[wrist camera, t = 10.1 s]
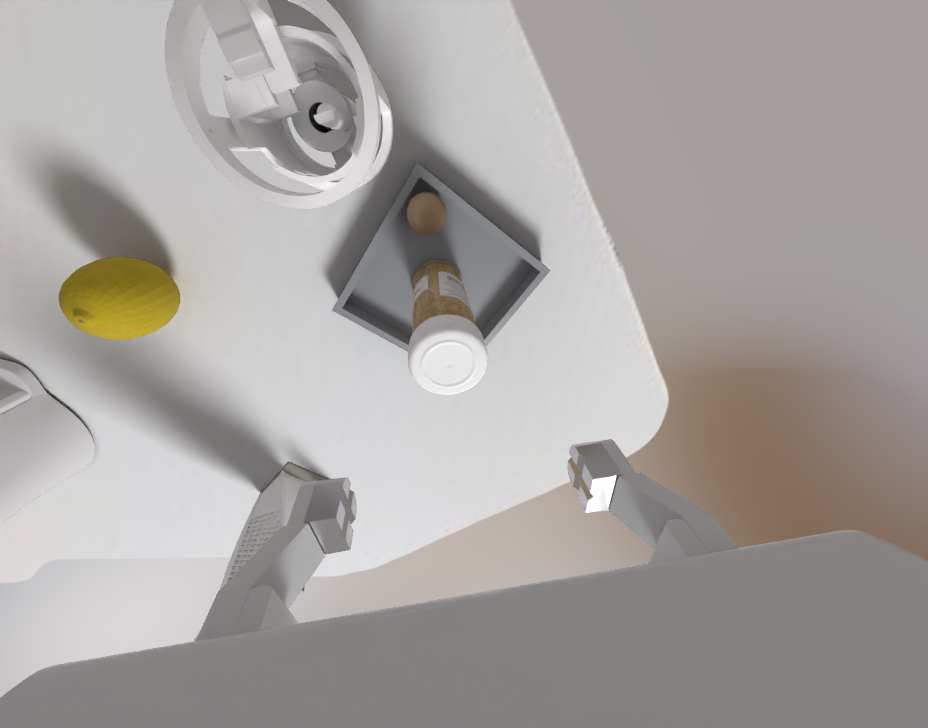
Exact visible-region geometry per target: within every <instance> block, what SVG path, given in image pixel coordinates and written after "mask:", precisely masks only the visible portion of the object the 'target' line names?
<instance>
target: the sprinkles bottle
mask: <svg viewBox="0 0 928 728" xmlns="http://www.w3.org/2000/svg"><path fill="white" fill-rule="evenodd" d="M412 288H413V311H412V325H413V331H412V333H413V334H412V336H411V338H410V342H409V348H408V365H409V370H410V373H411V375H412V377H413V378H414V380H415V381H416V382H417V383H418V384H419V385H420V386H421V387H423V388H424V389H426V390H428V391H430V392H433V393H437V394H444V395H450V394H457V393H461V392H463V391H466V390H468V389H470V388H471V387H473V386H474V385H475V384H476V383H478V381H479V380H480V379H481V378H482V376H483V375H484V373H485V371H486V368H487V364H488V353H487V348H486V345H485V342H484V338H483V336H482V333H481V332H480V330H479V329H478V327H477V326H476V324H475V317H474V314H473V311H472V308H471V305H470V302H469V299H468V296H467V293H466V290H465V287H464V285H463V279H462V276H461V274H460V272H459V271H458V269H457V268H456V267H455V266H454V265H452V264H451V263H449V262H446V261H442V260H431V261H428V262H426V263H424V264H423V265H422V266H421V267H420V268H419V269H418V270H417V271H416V273H415V275H414V278H413V283H412Z"/></svg>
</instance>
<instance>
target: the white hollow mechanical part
mask: <svg viewBox="0 0 928 728" xmlns="http://www.w3.org/2000/svg"><path fill="white" fill-rule="evenodd" d="M287 1H290V2H292V3H295V4H297V5H299V6H301V7H303V8H304V9H306V10H307V11H309V12H310V13H312V14H313V15H315V16H316V17H317V18H318V19H320V20H321V21H322V22H323V23H324V24H325V25H326V26H327V27H329V28H330V29H331V30H332V32H333V33H334V34H335V35H336V36H337V37H335V36H333V35H331V34H328V33H325V32H320V31H314V30H306V29H303V28H300V27H295V26H285V25H284V26H277V25H278V24H277V22H276V19H275V17H274V14H273V12H272V10H271V7H270V5H269V3H268V0H175V2H174V4H173V7H172V9H171V12H170V15H169V19H168V23H167V28H166V35H165V62H166V70H167V76H168V81H169V85H170V89H171V92H172V96H173V99H174V102H175V104H176V107H177V109H178V112H179V114H180V116H181V118H182V120H183V122H184V124H185V126H186V128H187V130H188V132H189V133H190V135H191V137H192V138H193V140H194V141H195V143H196V144H197V146H198V147H199V148H200V150H201V151H202V152H203V154H204V155H205V156H206V157H207V159H208V160H209V161H210V162H211V163H212V164H213V165H214V166H215V167H216V168H217V169H218V170H219V171H220V172H221V173H222V174H223V175H224V176H225V177H226V178H228V179H229V180H230V181H231V182H232V183H234V184H235V185H236V186H238V187H239V188H241V189H242V190H244V191H245V192H247V193H249V194H250V195H252V196H254V197H256V198H258V199H260V200H263V201H265V202H268V203H270V204H273V205H277V206H281V207H285V208H292V209H312V208H318V207H322V206H325V205H328V204H331V203H333V202H335V201H337V200H339V199H341V198H342V197H344V196H346V195H347V194H349V193H350V192H351V191H353V190H354V189H356V188H359V187H361V186H363V185H365V184H366V183H368V182H369V181H371V180H372V179H373V178H374V177H375V176H376V175H377V174H378V173H379V172H380V171H381V169H382V168H383V166H384V165H385V163H386V161H387V159H388V156H389V154H390V150H391V146H392V140H393V118H392V112H391V107H390V103H389V100H388V97H387V95H386V92H385V90H384V88H383V86H382V84H381V82H380V80H379V78H378V77H377V75H376V73H375V72H374V70H373V69H372V67H371V66H370V64H369V63H368V61H367V59H366V57H365V55H364V53H363V51H362V49H361V47H360V46H359V44H358V42H357V40H356V39H355V37H354V35H353V34H352V32H351V30H350V29H349V27H348V26H347V24H346V23H345V22H344V20H343V19H342V18H341V16H340V15H339V14H338V12H337V11H336V10H335V9H334V8H333V7H332V5H331V4H330V3H329V2H328V1H327V0H287ZM210 24H211V26H212V28H213V30H214V32H215V34H216V36H217V38H218V43H219V45H220V47H221V49H222V51H223V53H224V55H225V57H226V59H227V61H228V63H229V64H231V66H232V68H233V70H234V72H235V74H236V76H237V77H236V78H233V79H232V78H229V77H226V76H224V75H223V93H224V99H225V103H226V107H227V110H228V113H229V116H230V118H224V117H218V116H213V115H209V113H208V111H207V108H206V105H205V102H204V98H203V94H202V89H201V82H200V54H201V48H202V44H203V40H204V37H205V35H206V32H207V30H208V28H209V26H210ZM344 57H345V58H346V59H348V60H349V61H351V62H352V64H353V67H354V69H355V71H356V72H355V71H354V69H353V68H352V67H351V66H350V64H349V63H348V62H347V61H346V60H345V58H344ZM320 67H329V68H332V69H335V70H337V71H339V72H341V73H343V74H344V75H346V76H347V77H348V78H350V80H351V82H352V84H353V86H354V88H355V90H356V93H357V96H358V98H355V102H353V101H352V100H351V99H349V98H348V97H346V96H345V95H343V94H342V93H341V92H339V91H338V90H336V89H335V88H334V87H332V86H331V85H329V84H327V83H325V82H324V81H323V79H322V77H321V75H320V74H319V72H321V70H320ZM298 76H299V77H300V79H301V81H302V83H303V84H301V82H300V80H299V77H298ZM297 86H299V87H298V88H297V89H296V91H295V92H294V94H293V92H292V90H291V89H292V88H295V87H297ZM381 116H382V120H383V136H382V143H381V147H380V150H379V153H378V155H377V157H376V159H375V156H376V153H377V149H378V145H379V140H380V132H381ZM288 117H292V121H293V124H294V127H295V129H296V131H297V132H298V134H299V135H300V137H301V138H302V139H303V140H304V141H305V142H306V143H307V144H308V145H309V146H311V147H312V148H314V149H316V150H319V151H322V152H332V155H333V157H334V159H335V162H336V165H335V167H336V168H330V167H326V166H324V165H321V164H319V163H317V162H316V161H314V160H313V159H311V158H310V157H309V156H308V155H307V154H306V153H305V152H304V151H303V150H302V149H301V148H300V147H299V145H298V144H297V142H296V141H295V139H294V137H293V135H292V133H291V131H290V128H289V125H288V121H287V118H288ZM329 128H332V130H331V131H329ZM231 151H262V152H263V153H264V154H265V155H266V156H267V158H268V159H270V160H271V161H272V162H273V163H274V164H275V165H276V166H278V167H275V168H274V169H275V170H276V171H278V172H280V173H281V174H283V175H285V176H287V177H289V178H291V179H294V180H297V181H300V182H305V183H307V184H309V185H311V186H313V187H316V188H318V189H322V190H326V191H322V192H318V193H296V192H291V191H287V190H283V189H281V188H278V187H275V186H273V185H271V184H269V183H267V182H265V181H264V180H262V179H261V178H259V177H258V176H256V175H255V174H253V173H252V172H251V171H250V170H248V169H247V168H246V167H245V166H244V165H243V164H242V163H241V162H240V161H239V160H238V159H237V158H236V157H235V156H234V155H233V154H232V152H231ZM352 152H354V153H353V155H352ZM374 159H375V161H374ZM373 161H374V162H373ZM342 177H344V178H343V179H342V180H341V181H333V180H336V179H339V178H342Z"/></svg>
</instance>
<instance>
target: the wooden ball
mask: <svg viewBox="0 0 928 728" xmlns="http://www.w3.org/2000/svg"><path fill="white" fill-rule="evenodd" d="M407 218H408V221H409V224H410V225H411V227H412V228H413V229H414V230H415V231H416V232H418V233H420V234H422V235H433V234H435V233H437V232H439V231H440V230H441V229H442V228H443V226H444V224H445V222H446V218H447V212H446V207H445V204H444V203H443V201H442V200H441V199H440V198H439V197H438V196H437V195H435V194H433V193H431V192H421V193H418V194H417V195H415V196H414V197H413V198H412V199H411V200H410V202H409V204H408V207H407Z"/></svg>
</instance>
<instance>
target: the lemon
mask: <svg viewBox="0 0 928 728" xmlns="http://www.w3.org/2000/svg"><path fill="white" fill-rule="evenodd" d="M59 303H60V307H61V309H62V311H63V313H64V314H65V316H66V317H67V319H68V320H69V321H70V322H71V323H72V324H73V325H75V326H76V327H78V328H79V329H81V330H82V331H84V332H86V333H88V334H91V335H94V336H97V337H100V338H105V339H112V340H125V339H132V338H136V337H140V336H144V335H147V334H150V333H152V332H154V331H156V330H158V329H159V328H161V327H163V326H164V325H166V324H167V323H168V322H169V321H170V320H171V319H172V318H173V316H174V315H175V314H176V312H177V311H178V307H179V304H180V293H179V290H178V287H177V285H176V283H175V282H174V280H173V279H172V278H171V277H170V276H169V274H168V273H166V272H165V271H164V270H162V269H161V268H160V267H158V266H156V265H154V264H152V263H150V262H147V261H144V260H141V259H137V258H129V257H114V258H105V259H100V260H97V261H94V262H92V263H89V264H87V265H85V266H83V267H81V268H79V269H78V270H76V271H75V272H74V273H73V274H71V276H70V277H69V278H68V279H67V280H66V281H65V282H64V283H63V285H62V287H61V290H60V293H59Z"/></svg>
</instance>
